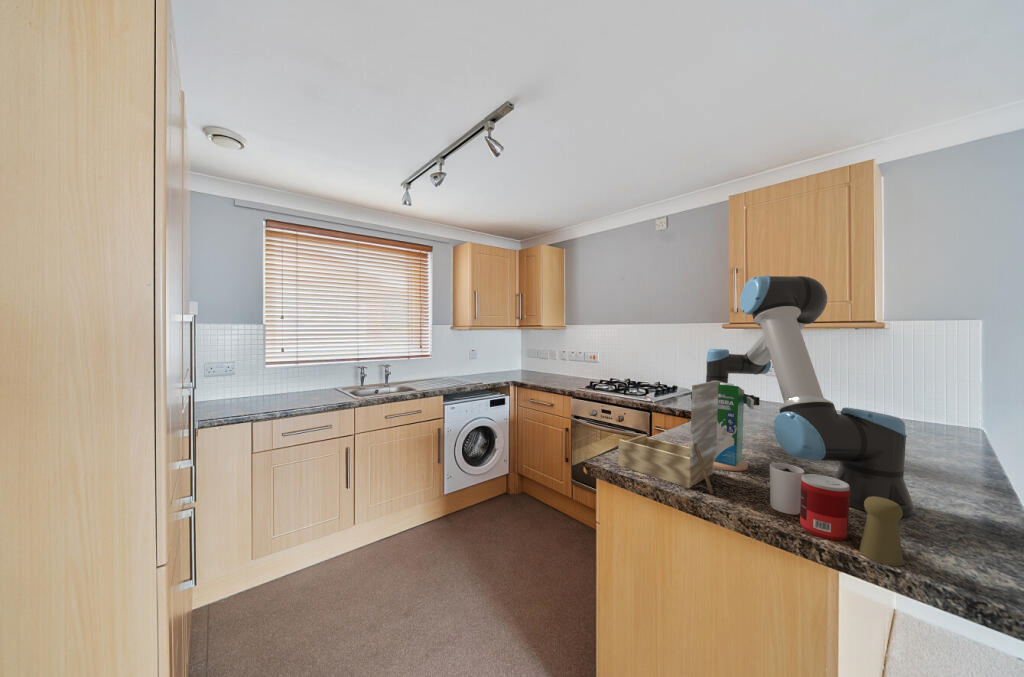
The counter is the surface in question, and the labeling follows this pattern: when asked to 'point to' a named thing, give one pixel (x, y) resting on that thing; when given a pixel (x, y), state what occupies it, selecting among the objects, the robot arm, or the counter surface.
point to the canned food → (824, 506)
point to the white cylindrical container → (785, 487)
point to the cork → (882, 531)
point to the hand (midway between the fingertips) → (727, 402)
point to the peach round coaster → (739, 467)
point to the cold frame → (676, 459)
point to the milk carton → (729, 424)
